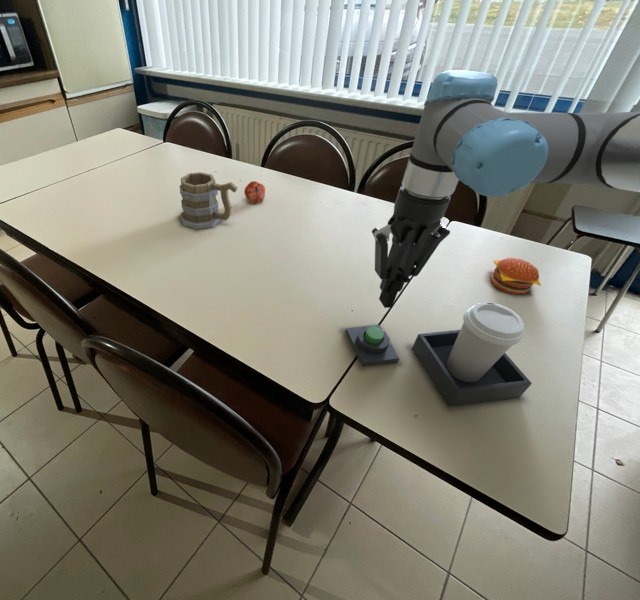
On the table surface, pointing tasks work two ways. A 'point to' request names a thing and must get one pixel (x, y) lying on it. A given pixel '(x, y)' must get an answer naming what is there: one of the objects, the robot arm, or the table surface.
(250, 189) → the pomegranate
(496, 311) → the coffee cup
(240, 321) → the table surface
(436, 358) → the basket
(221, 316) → the table surface
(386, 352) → the panel
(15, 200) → the table surface
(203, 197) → the tankard
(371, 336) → the button
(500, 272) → the hamburger
